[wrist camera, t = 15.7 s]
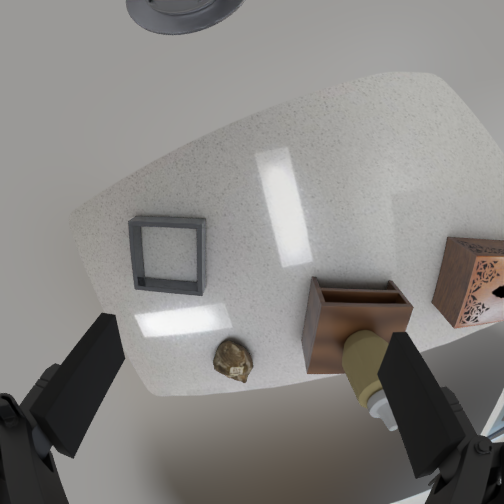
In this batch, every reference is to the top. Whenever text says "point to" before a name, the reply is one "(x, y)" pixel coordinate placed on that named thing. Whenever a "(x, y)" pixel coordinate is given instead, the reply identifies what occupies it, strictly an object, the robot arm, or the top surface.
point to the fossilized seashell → (233, 361)
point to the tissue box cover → (471, 282)
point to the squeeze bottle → (368, 373)
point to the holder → (164, 284)
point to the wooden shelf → (348, 321)
